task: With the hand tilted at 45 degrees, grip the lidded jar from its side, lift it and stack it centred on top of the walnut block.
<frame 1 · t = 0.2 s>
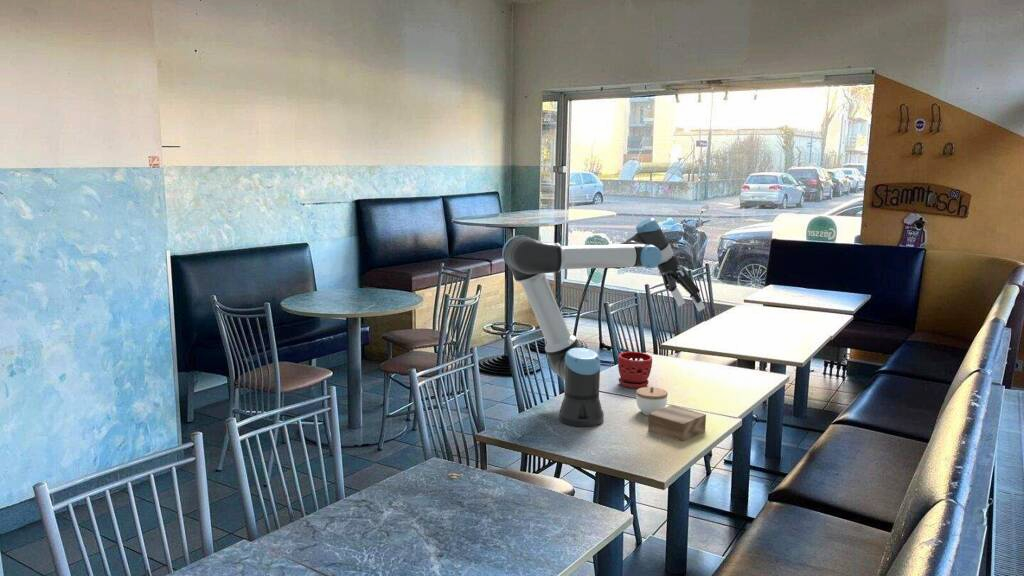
hand: (691, 306, 265), 34 cm above the table, tool tilted 30°, fingers open, 13 cm apart
plant pot: (634, 385, 286), on the table
walnut block: (676, 431, 237), on the table
lidded jar: (650, 413, 254), on the table
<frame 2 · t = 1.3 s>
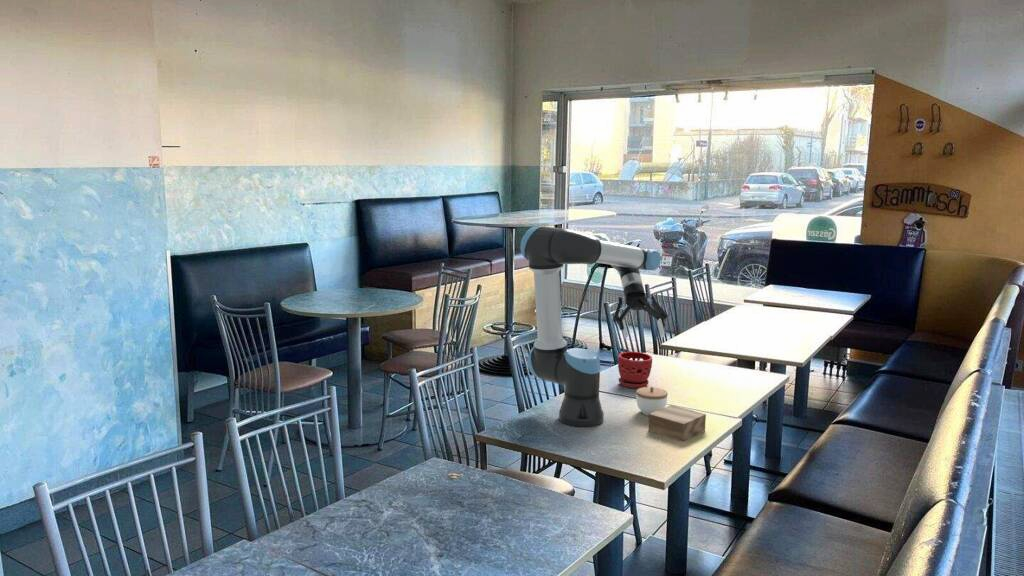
hand: (644, 336, 261), 25 cm above the table, tool tilted 45°, fingers open, 13 cm apart
nothing on the table moved.
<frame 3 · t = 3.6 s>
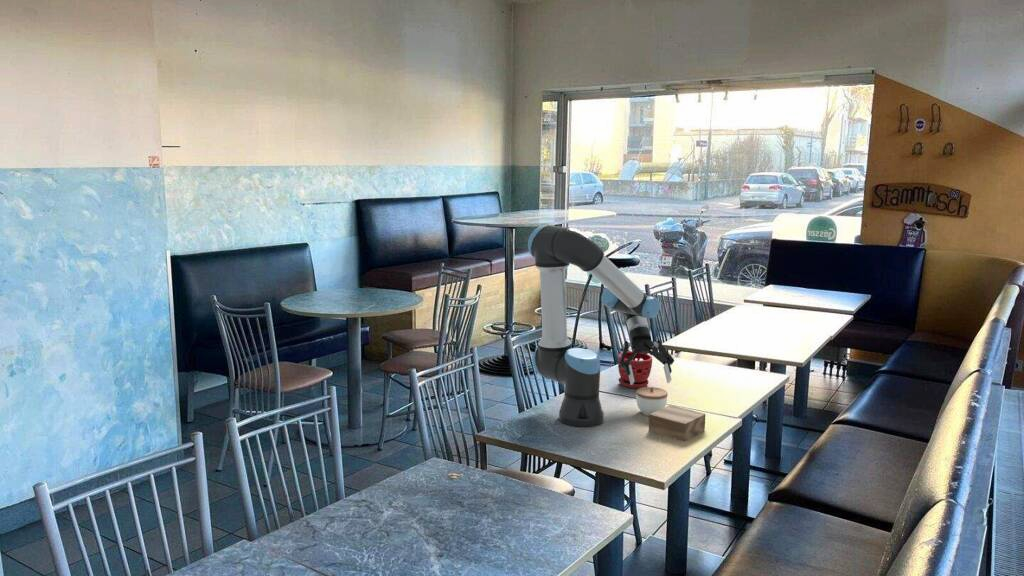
hand: (651, 382, 257), 9 cm above the table, tool tilted 45°, fingers open, 13 cm apart
nothing on the table moved.
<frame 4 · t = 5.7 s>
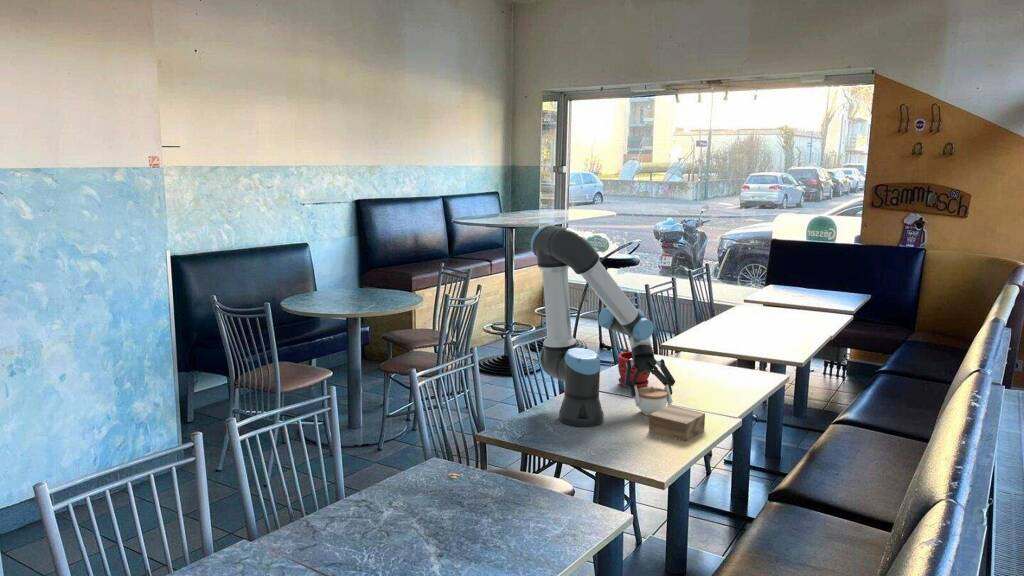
hand: (654, 404, 250), 4 cm above the table, tool tilted 45°, fingers closed on lidded jar, 11 cm apart
lidded jar: (651, 413, 254), on the table, touching gripper
everything else where it was.
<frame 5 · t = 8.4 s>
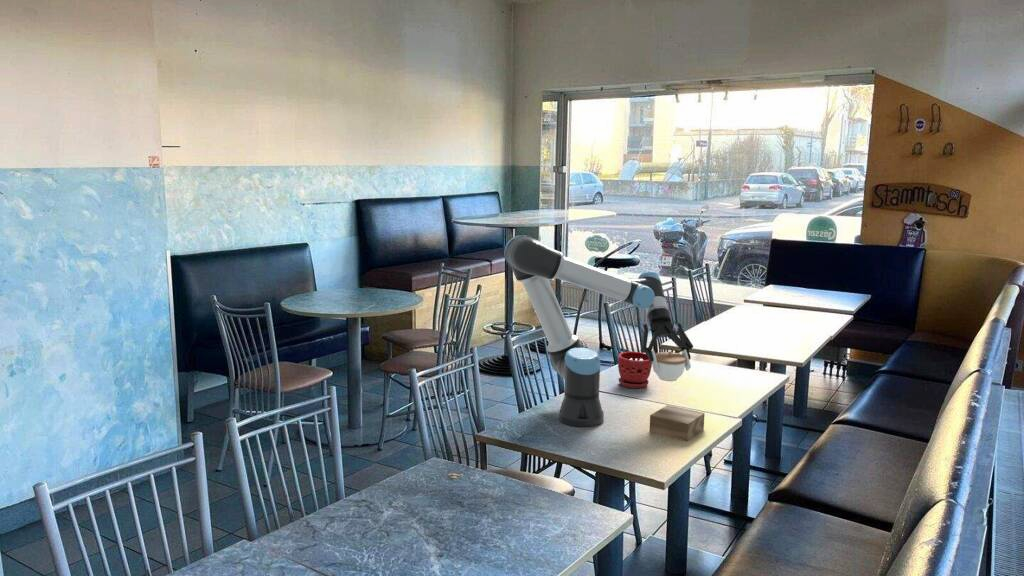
hand: (672, 369, 242), 18 cm above the table, tool tilted 40°, fingers closed on lidded jar, 11 cm apart
lidded jar: (668, 379, 246), point 14 cm above the table, touching gripper
everything else where it was.
when the fingers open (12 cm above the table, at t = 11.4 s): lidded jar drops 1 cm, resting on walnut block.
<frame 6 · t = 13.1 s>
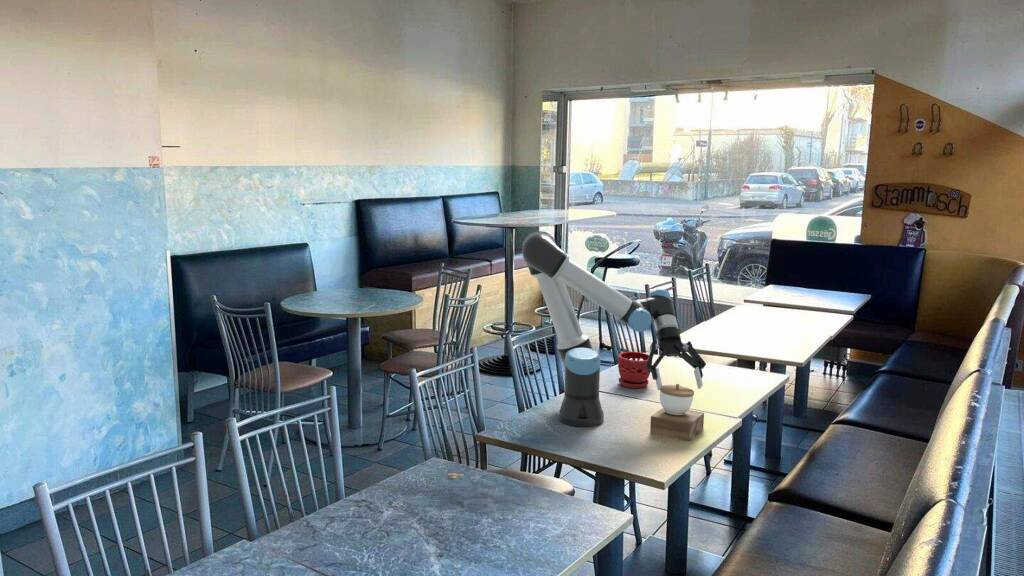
hand: (680, 387, 236), 14 cm above the table, tool tilted 45°, fingers open, 13 cm apart
walnut block: (676, 432, 237), on the table, touching lidded jar
lidded jar: (674, 412, 237), point 6 cm above the table, touching gripper, walnut block
everything else where it was.
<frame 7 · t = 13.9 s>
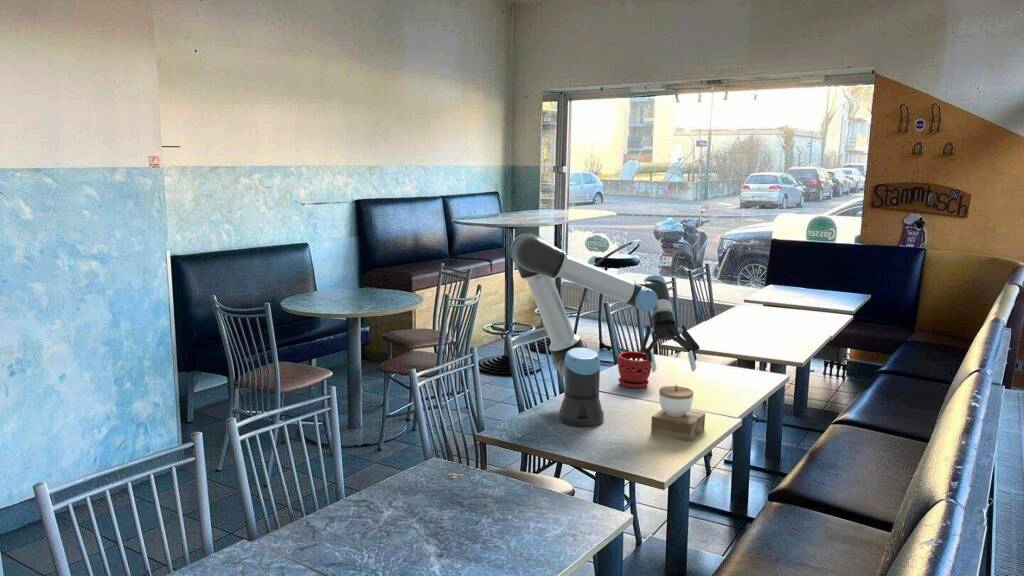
hand: (674, 370, 241), 18 cm above the table, tool tilted 45°, fingers open, 13 cm apart
lidded jar: (675, 414, 236), point 5 cm above the table, touching walnut block
everything else where it was.
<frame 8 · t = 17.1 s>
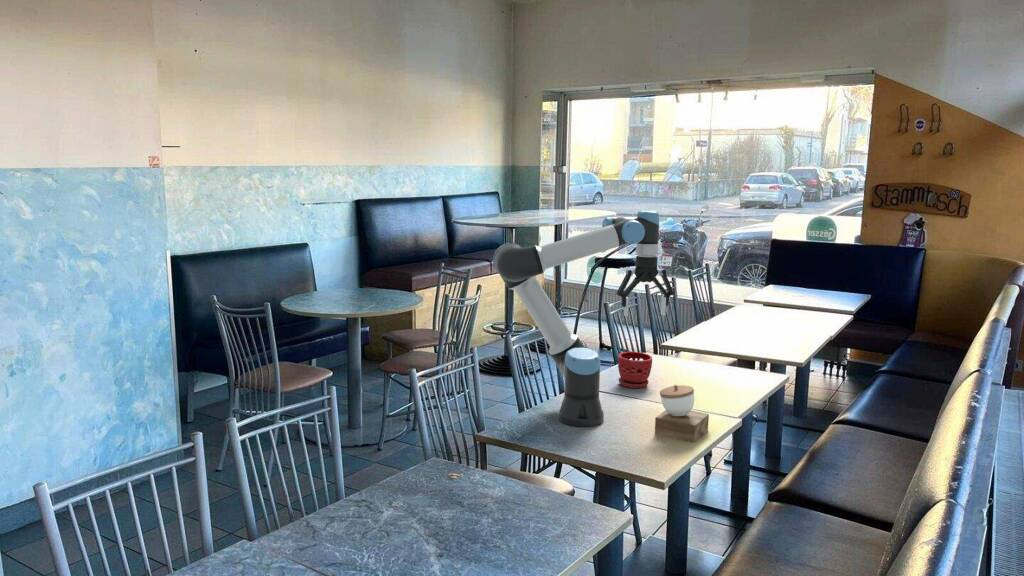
hand: (644, 315, 257), 33 cm above the table, tool pointing down, fingers open, 13 cm apart
walnut block: (681, 433, 236), on the table, touching lidded jar
lidded jar: (680, 413, 235), point 6 cm above the table, touching walnut block
everything else where it was.
at the end: lidded jar 0.8 cm from the walnut block (horizontally); lidded jar point 6.1 cm above the table; lidded jar tilted 11° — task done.
